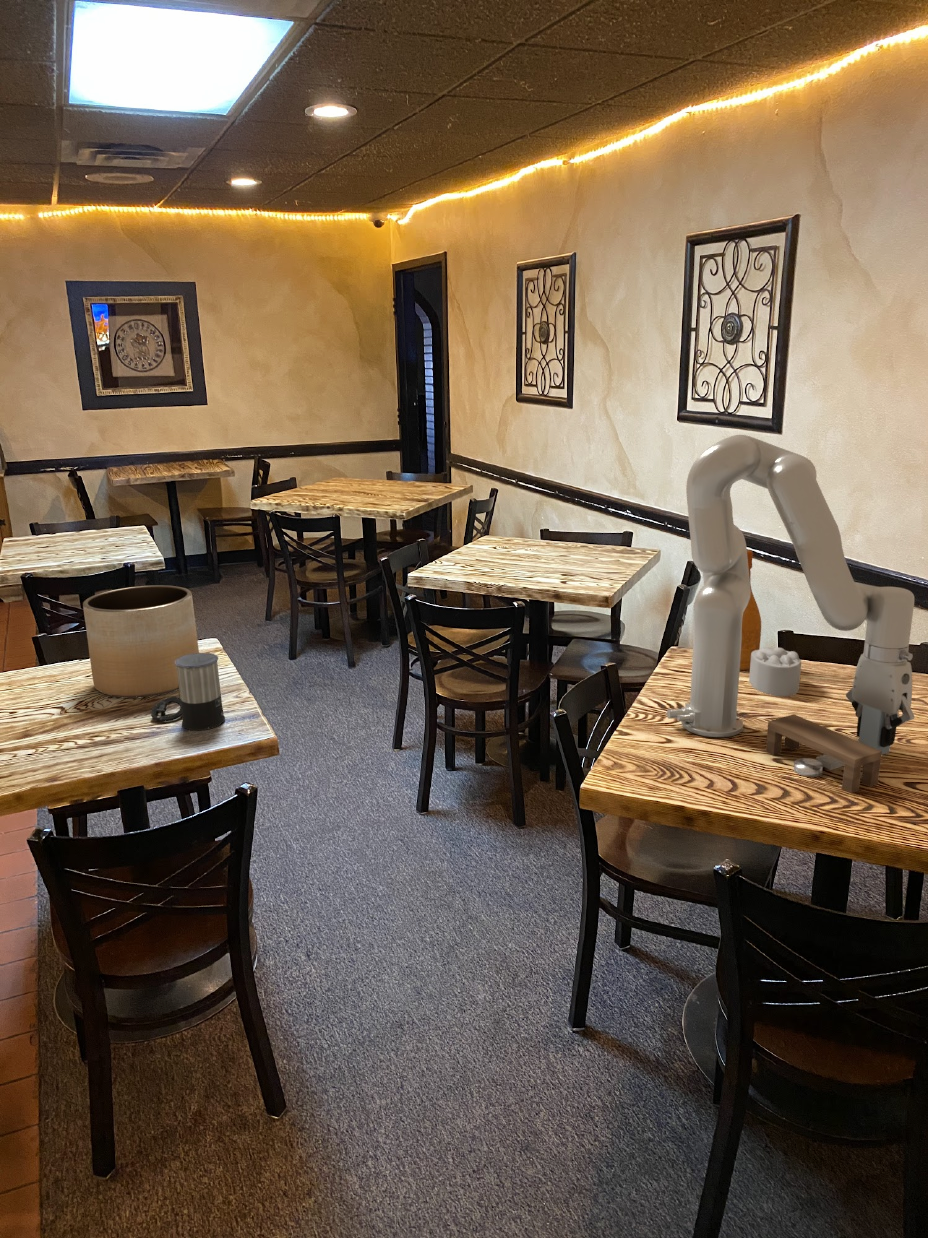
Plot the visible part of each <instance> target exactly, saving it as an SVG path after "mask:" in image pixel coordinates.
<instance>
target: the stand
mask: <svg viewBox="0 0 928 1238" xmlns="http://www.w3.org/2000/svg"><path fill="white" fill-rule="evenodd" d="M783 736H784V745H783V744H782V743H783ZM800 744H801V745H804V746H806V747H808V748H810V749H813V750H814V751H817V752H819V753H821V754H822V755H828V756H830V757H832V758H834V759H836V760H839V761H841V762H843V763H845V764H844V766H843V774H842V783H841V790H844V791H845V792H847V793H849V794H853V793H856V792H859V791H860V784H861V783H862V784H863V785H865V786H868V787H871V788H872V787H874V786H877V785H879V778H880V770H881V762H882V756H883V755H882V751H880V750H878V749H875V748H873V747H871V746H868V745H866V744H863V743H861V742H859V740H857V739H854V738H852V737H849V736H847V735H843V734H842V733H839V732H837V731H835V730H832V729H830V728H827V727H825V726H823V725H820V724H818V723H816V722H813V721H811V720H809V719H806V718H803V717H802V716H800V715H796V714H794V713H793V714H791V715H787V716H783V717H779V718H775V719H771V720H768V721H767V732H766V745H765V752H766V753H768V754H769V755H771V756H777V755H780V754H782V745H783V747H784V748H786V749H789V750H790V751H795V750H797V749H799V748H800Z"/></svg>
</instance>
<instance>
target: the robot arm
mask: <svg viewBox="0 0 928 1238" xmlns="http://www.w3.org/2000/svg"><path fill="white" fill-rule="evenodd" d="M688 472H689V473H688V475H687V479H686V485H685V486H686V489H685V490H686V502H687V503H686V504H687V505H686V506H687V512H688V515H687V517H688V525H689V535H690V536H689V537H690V547H691V548H690V549H691V557H692V561H693V564H694V565H695V566H696V568H697V569H698V570H699V571H700V572H701V573H702V578H703V579H702V580H703V586H702V587H701V588H700V589H699V591H698V592H697V595H696V596H695V599H694V602H693V608H692V610H693V611H692V623H693V625H692V626H693V635H692V637H693V639H692V640H693V641H692V642H693V643H692V661H691V663H692V664H691V677H690V679H691V682H690V696H689V699H690V700H689V702H685V706H681V708H679V709H678V708H675V709H673V708H671V709H667V710H666V716H667V719H671V720H672V719H676V720H677V722H678V723H679V722H681V725H682V727H683V728H684V729H685V730H686V731H688V732H690V733H692V734H696V735H699V736H702V737H703V736H704V737H709V738H729V737H734V736H737V735H739V734H740V733H742V731H743V730H744V721H742V719H741V718H740V717H738V716H737V714H738V713H737V712H738V698H739V697H738V696H739V685H740V683H739V682H740V671H741V670H740V659H741V658H740V656H741V639H742V617H743V612H744V610H745V608H746V607H747V605H748V603H749V600H750V594H751V589H752V588H751V589H750V582H751V579H750V578H751V577H750V578H749V568H748V558H747V549H748V548H747V542H746V538H745V536H744V534H743V532H742V530H741V529H740V528H739V527H738V526H737V525H735V523H734V517H733V516H734V515H733V514H734V513H733V503H732V498H731V488H732V486H733V485H734V484H735V483H736V482H738V481H740V480H744V481H746V482H748V483H752V484H754V485H756V486H759V487H762V488H763V489H767V490H768V491H767V492H768V494H769V496H770V498H771V501H772V502H773V504H774V506H775V509H776V511H777V512H778V514H779V517H780V519H781V521H782V524H783V525H784V528H785V529H786V532H787V534H788V536H789V538H790V541H791V543H792V546H793V547H794V551H795V553H796V556H797V559H798V561H799V564H800V566H801V568H802V569H801V570H802V571H803V574H804V576H805V579H806V581H807V584H808V587H809V589H810V592H811V594H812V596H813V598H814V600H815V602H816V605H817V607H818V608H819V611H820V613H821V615H822V617H823V619H824V620H825V621H826V623H827V624H828V625H829V626H831V627H832V628H833V629H836V630H838V631H840V632H841V631H843V632H849V631H853V630H855V629H858V628H859V627H861V625H863V624H864V622H865V621H866V629H865V637H864V647H863V653H861V654H860V657H859V659H858V661H857V662H858V663H857V665H856V669H855V672H854V678H853V682H852V683H853V684H852V687H851V689H849V690H848V691H847V692H846V693H845V697H846V698H847V699H848V701H849V702H850V703H851V707H852V708H853V709H854V712H855V717H857V723H856V724H857V725H856V737H858V738H859V735H860V726H861V718H862V709H863V704H864V705H867V706H869V707H872V708H875V709H877V710H880V711H882V712H884V720H885V727H883V728H882V731H881V739H880V746H881V747H887V746H890V747H891V746H892V745H894V743H895V740H896V734H897V727H900V726H901V725H903V724H904V723H906V722H909V721H912V720H914V719H915V715H914V712H913V709H912V699H913V670H912V665H911V662H909V661H912V660H913V657H914V655H913V653H910V652H909V649H910V648H909V646H910V638H911V630H912V624H913V616H914V615H913V614H914V608H915V595H914V593H913V592H912V591H911V590H909V589H907V588H904V587H898V586H897V587H896V586H876V585H870V584H867V583H866V584H865V583H861V582H856V581H855V580H854V578H853V576H852V574H851V571H850V568H849V566H848V563H847V560H846V557H845V553H844V549H843V543H842V541H843V540H842V536H841V532H840V528H839V525H838V523H837V521H836V520H835V518H834V516H833V513H832V511H831V509H830V507H829V505H828V503H827V500H826V498H825V496H824V494H823V492H822V489H821V487H820V484H819V483H818V480H817V475H818V474H817V470H816V466H815V464H814V463H813V462H812V461H811V460H810V459H809V458H807V457H805V456H804V455H801V454H798V453H796V452H793V451H791V450H788V449H785V448H783V447H779V446H777V445H775V444H774V445H773V444H771V443H768V442H766V441H763V440H761V439H758V438H755V437H753V436H750V435H747V434H746V435H745V434H735V435H731V436H729V437H728V436H727V437H726V438H724V439H721V440H720V441H717V442H716V443H714V444H713V445H711V446H710V447H708V448H707V449H706V450H704V451H703V452H702V453H701V454H700V455H699V456H698V457H697V458H696V459H695V460H694V462H693V464H692V465H691V467H690V470H689V471H688ZM900 712H901V713H902V715H901V716H900ZM891 715H892V717H891Z"/></svg>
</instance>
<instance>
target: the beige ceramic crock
mask: <svg viewBox="0 0 928 1238" xmlns="http://www.w3.org/2000/svg"><path fill="white" fill-rule="evenodd" d="M82 608H83V615H84V621H85V629H86V638H87V644H88V645H87V646H88V653H89V654H88V655H89V662H90V669H91V676H92V682H93V686H94V688H95V689H96V690H97V691H99V692H100V693H102V694H104V695H108V696H110V697H114V698H121V697H123V699H136V698H138V697H141V698H150V697H157V696H161V694H162V695H165V693H166V694H170V693H172V692H176V691H179V690H178V689H179V682H178V673H177V665H175V661H176V659H178V658H180V657H182V656H185V655H189V654H195V653H200V650H199V645H198V644H199V641H198V640H199V639H198V636H197V635H198V634H197V624H196V619H195V618H196V617H195V610H194V602H193V593H192V591H191V590H189V589H188V588H186V587H181V586H174V585H139V586H131V587H130V586H129V587H123V588H118V589H113V590H107V591H104V592H101V593H98V594H95V595H92V596H89V597H88V598H87V599H85V600H84V601H83V602H82ZM149 696H150V697H149ZM138 699H139V698H138Z"/></svg>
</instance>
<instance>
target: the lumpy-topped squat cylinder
mask: <svg viewBox="0 0 928 1238" xmlns="http://www.w3.org/2000/svg"><path fill="white" fill-rule="evenodd" d="M801 672H802V660H801V659H800V658H799V654H798V652H796V651H795V650H793V651H792V650H791V651H789V650H786V649H784V648H783V647H762V648H761V647H760V649H759V650H755V651H753V652H752V653H751V663H750V669H749V676H748V681H749V682H748V683H749V684H750V685H751V687H752V686H753V687H752V688H753V689H754V690H756V691H758V692H760V693H762V692H763V693H762V694H765V693H766V694H765V695H769V694H771V695H770V696H775V697H779V698H780V697H781V698H785V697H786V698H787V697H793V696H795V695H796V694H797V693H798V692H799V691H800V680H801Z"/></svg>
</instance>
